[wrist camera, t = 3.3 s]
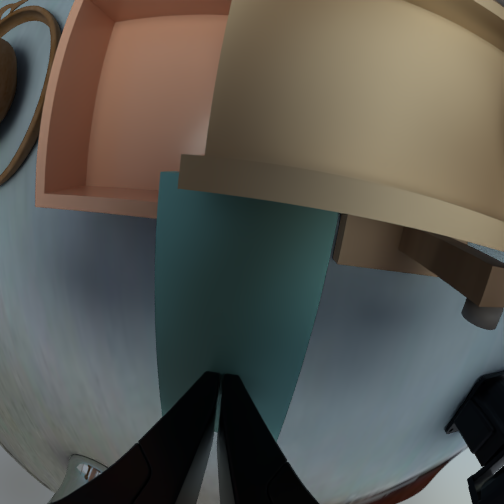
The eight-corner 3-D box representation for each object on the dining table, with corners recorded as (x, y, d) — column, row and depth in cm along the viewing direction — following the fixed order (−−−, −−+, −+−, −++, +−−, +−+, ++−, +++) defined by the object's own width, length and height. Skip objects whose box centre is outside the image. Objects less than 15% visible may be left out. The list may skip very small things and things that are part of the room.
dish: (298, 19, 9) (312, -22, 6) (272, 214, 12) (279, 234, 8) (113, 19, 9) (79, -10, 5) (82, 194, 11) (35, 207, 8)
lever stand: (472, 64, 9) (557, 41, 3) (449, 273, 12) (532, 335, 6) (361, 12, 9) (425, -64, 2) (332, 257, 12) (400, 345, 6)
